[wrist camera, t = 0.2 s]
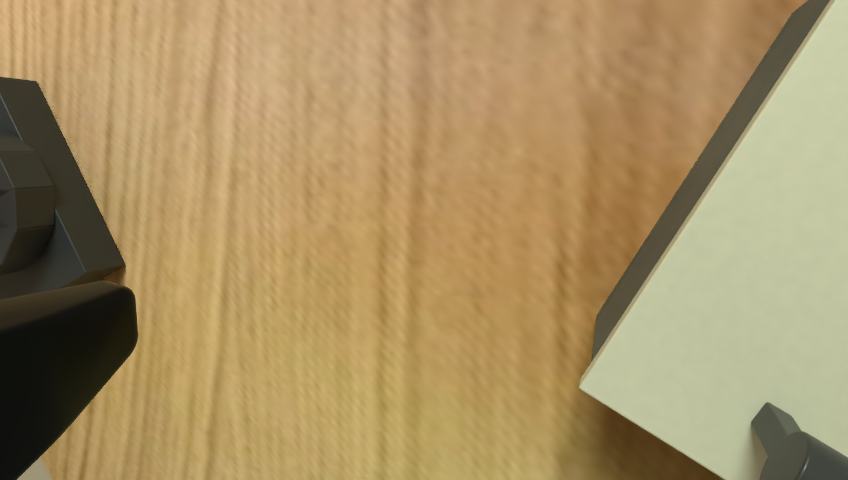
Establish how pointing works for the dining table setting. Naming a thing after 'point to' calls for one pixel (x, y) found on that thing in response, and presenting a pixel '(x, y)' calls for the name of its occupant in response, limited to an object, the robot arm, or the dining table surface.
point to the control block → (44, 202)
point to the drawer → (707, 166)
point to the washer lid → (753, 293)
